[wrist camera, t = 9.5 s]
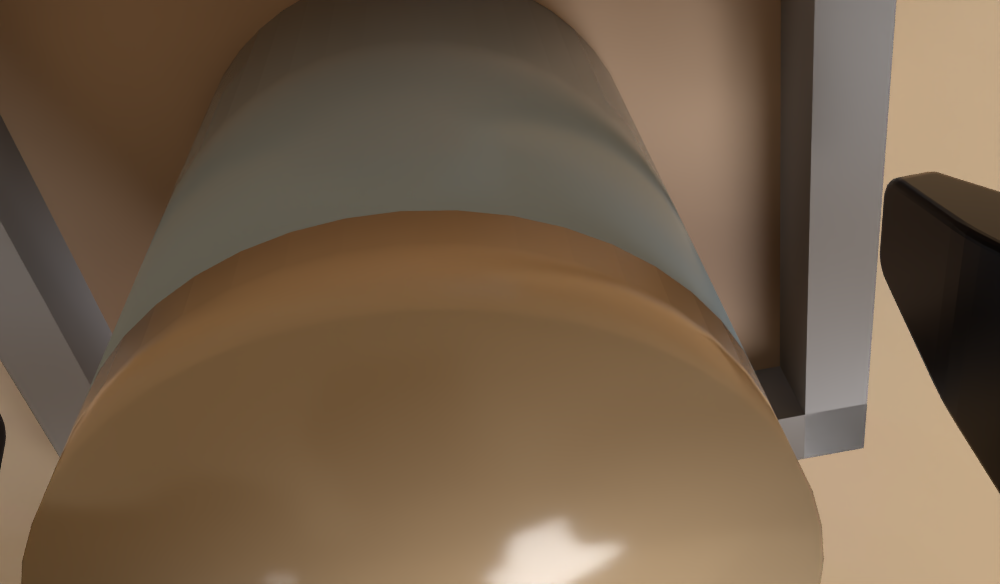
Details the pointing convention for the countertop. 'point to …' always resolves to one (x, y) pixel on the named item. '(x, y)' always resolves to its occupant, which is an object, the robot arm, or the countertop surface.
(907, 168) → the countertop surface
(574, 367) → the slate jar
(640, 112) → the lane
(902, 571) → the countertop surface
